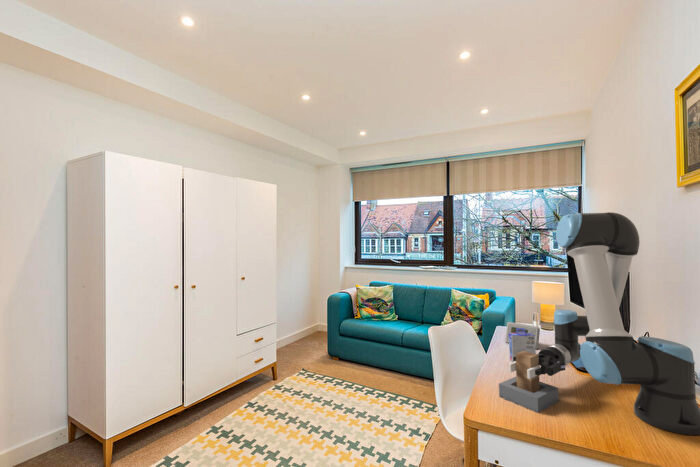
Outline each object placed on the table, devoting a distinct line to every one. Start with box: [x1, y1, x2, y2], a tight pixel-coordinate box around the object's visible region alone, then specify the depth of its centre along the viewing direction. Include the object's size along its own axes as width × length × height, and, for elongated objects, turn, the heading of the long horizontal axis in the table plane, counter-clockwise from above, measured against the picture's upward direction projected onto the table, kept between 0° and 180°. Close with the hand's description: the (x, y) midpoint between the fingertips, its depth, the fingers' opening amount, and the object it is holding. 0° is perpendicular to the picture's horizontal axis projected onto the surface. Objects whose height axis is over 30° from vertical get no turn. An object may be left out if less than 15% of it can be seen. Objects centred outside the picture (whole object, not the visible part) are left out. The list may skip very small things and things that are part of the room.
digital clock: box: [504, 321, 541, 350], centre depth 166 cm, size 16×9×11 cm, turn 28°
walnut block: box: [515, 351, 540, 393], centre depth 109 cm, size 5×5×14 cm
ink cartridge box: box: [508, 328, 537, 363], centre depth 143 cm, size 10×6×14 cm, turn 78°
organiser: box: [498, 376, 560, 414], centre depth 109 cm, size 13×13×4 cm
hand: (518, 371), depth 107 cm, fingers open, 6 cm apart
